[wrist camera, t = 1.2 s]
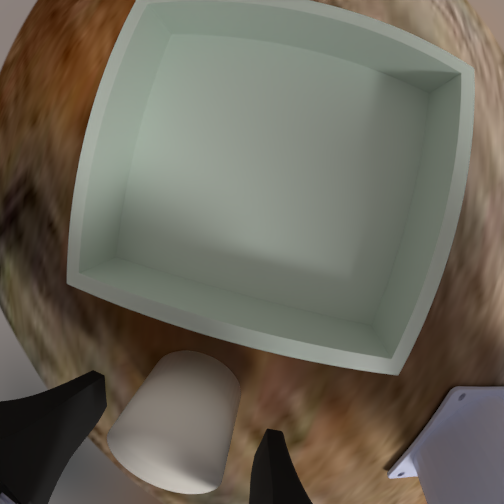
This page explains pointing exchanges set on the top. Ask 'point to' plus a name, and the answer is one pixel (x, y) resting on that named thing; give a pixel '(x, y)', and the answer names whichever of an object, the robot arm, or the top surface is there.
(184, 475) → the white rounded cylinder
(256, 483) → the robot arm
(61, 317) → the top surface
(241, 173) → the bus tub
